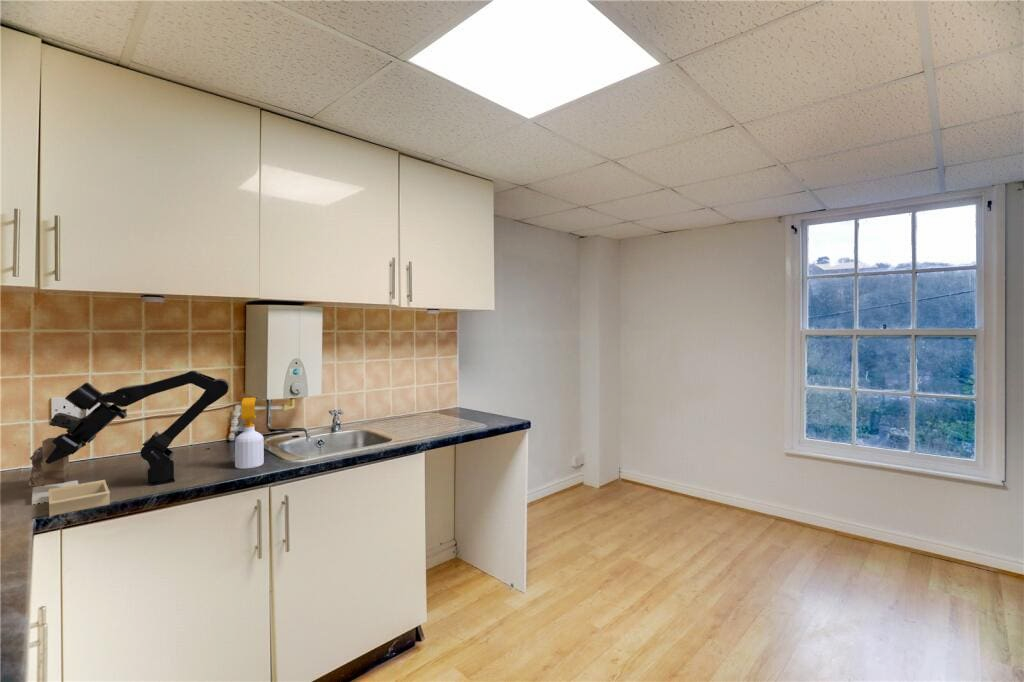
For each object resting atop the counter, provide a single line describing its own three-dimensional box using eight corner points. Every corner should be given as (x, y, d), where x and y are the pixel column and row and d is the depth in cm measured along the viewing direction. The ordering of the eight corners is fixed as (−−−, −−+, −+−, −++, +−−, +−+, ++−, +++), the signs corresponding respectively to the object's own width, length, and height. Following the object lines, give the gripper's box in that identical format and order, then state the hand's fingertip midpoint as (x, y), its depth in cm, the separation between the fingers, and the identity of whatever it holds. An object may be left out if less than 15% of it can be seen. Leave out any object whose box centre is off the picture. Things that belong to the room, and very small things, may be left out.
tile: (77, 484, 149) (77, 480, 149) (80, 496, 140) (80, 491, 140) (32, 492, 142) (32, 487, 142) (32, 505, 133) (31, 499, 132)
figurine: (33, 481, 153) (32, 444, 152) (62, 478, 156) (62, 442, 156) (24, 487, 146) (24, 449, 146) (55, 484, 150) (55, 446, 150)
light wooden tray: (105, 492, 143) (105, 479, 143) (110, 505, 132) (110, 492, 132) (49, 502, 135) (48, 489, 135) (49, 517, 124) (49, 503, 124)
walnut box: (69, 478, 144) (67, 436, 144) (64, 483, 140) (62, 439, 140) (49, 481, 142) (48, 438, 141) (43, 485, 138) (42, 441, 137)
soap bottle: (264, 461, 177) (264, 395, 177) (262, 467, 169) (261, 399, 168) (237, 463, 174) (236, 397, 173) (233, 470, 166) (232, 400, 165)
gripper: (81, 399, 150) (35, 437, 145) (61, 408, 134) (8, 451, 129) (114, 421, 154) (70, 459, 149) (97, 432, 138) (48, 475, 133)
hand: (49, 460), depth 140 cm, fingers closed on walnut box, 4 cm apart
